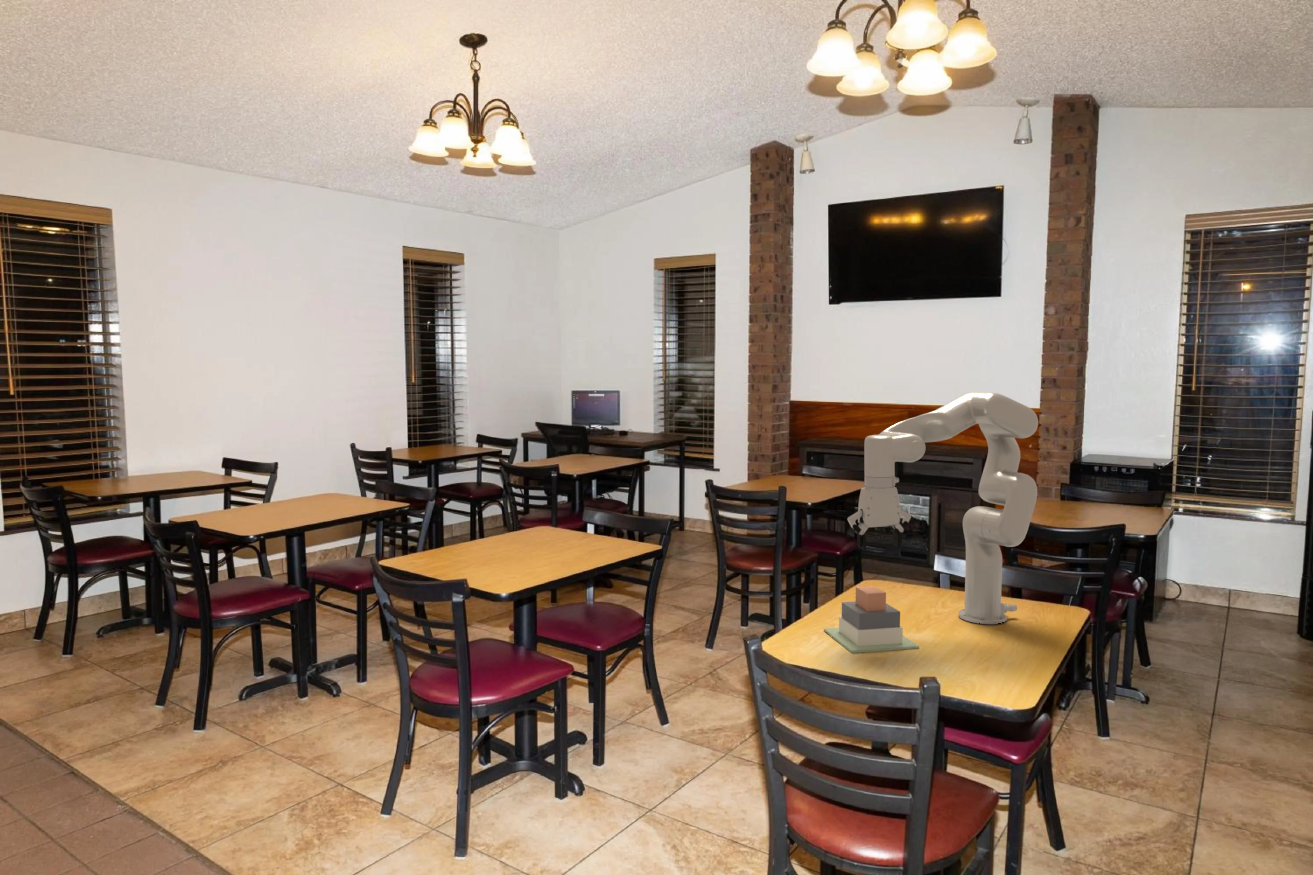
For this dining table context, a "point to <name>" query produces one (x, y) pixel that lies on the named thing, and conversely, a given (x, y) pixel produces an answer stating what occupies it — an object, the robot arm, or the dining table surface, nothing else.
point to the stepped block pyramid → (870, 630)
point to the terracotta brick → (870, 598)
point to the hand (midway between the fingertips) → (879, 547)
